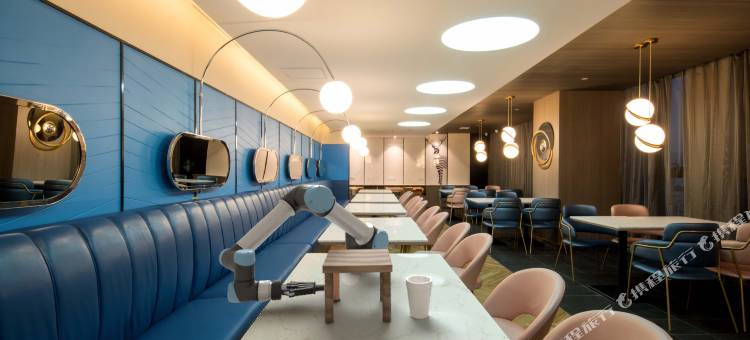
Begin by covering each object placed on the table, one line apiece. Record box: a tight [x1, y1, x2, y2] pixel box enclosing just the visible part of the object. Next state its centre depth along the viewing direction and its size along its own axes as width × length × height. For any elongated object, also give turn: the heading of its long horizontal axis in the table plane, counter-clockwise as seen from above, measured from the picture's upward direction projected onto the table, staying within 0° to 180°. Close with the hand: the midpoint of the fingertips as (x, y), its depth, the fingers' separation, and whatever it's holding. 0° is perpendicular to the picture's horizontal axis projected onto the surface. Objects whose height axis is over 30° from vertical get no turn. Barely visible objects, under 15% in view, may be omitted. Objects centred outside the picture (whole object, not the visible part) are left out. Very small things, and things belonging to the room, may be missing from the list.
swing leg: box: [333, 273, 341, 300], centre depth 136 cm, size 20×3×16 cm, turn 0°
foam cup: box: [405, 274, 433, 320], centre depth 129 cm, size 10×9×13 cm
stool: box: [321, 248, 394, 325], centre depth 135 cm, size 24×24×20 cm
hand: (332, 286), depth 143 cm, fingers closed
